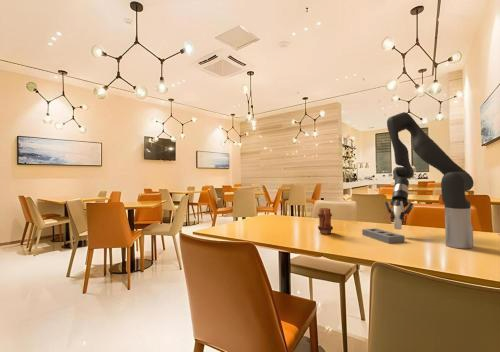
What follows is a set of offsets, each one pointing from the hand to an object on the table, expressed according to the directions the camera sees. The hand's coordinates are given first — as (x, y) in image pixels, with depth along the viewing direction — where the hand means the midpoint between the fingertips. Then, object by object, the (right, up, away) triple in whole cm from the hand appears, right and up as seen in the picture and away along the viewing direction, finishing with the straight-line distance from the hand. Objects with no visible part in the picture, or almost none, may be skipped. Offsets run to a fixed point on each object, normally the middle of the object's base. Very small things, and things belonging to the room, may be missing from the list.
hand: (397, 218), depth 140 cm
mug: (-34, -11, +12) cm, 37 cm away
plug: (+1, -5, +2) cm, 6 cm away
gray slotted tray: (-8, -10, -1) cm, 13 cm away
